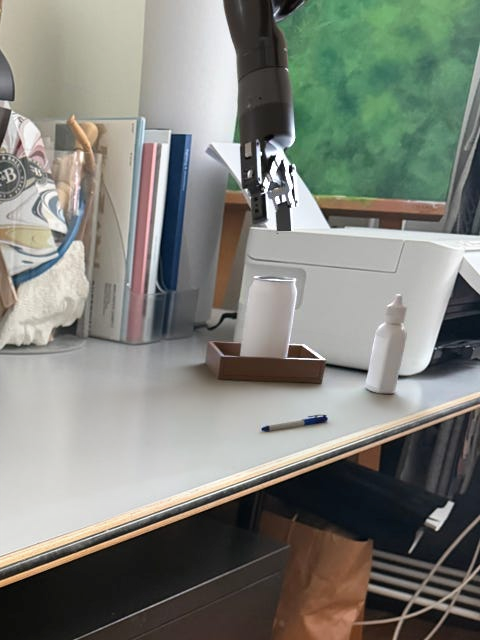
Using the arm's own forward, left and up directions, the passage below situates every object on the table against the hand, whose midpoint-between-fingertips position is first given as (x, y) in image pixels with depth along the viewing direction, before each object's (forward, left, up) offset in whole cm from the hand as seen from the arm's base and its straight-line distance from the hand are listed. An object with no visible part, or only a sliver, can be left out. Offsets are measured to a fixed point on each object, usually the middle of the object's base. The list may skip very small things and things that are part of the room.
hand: (273, 229), depth 134 cm
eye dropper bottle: (-13, +19, -18) cm, 30 cm away
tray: (+1, +10, -18) cm, 21 cm away
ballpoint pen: (+3, +41, -18) cm, 45 cm away
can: (+1, +10, -18) cm, 20 cm away
